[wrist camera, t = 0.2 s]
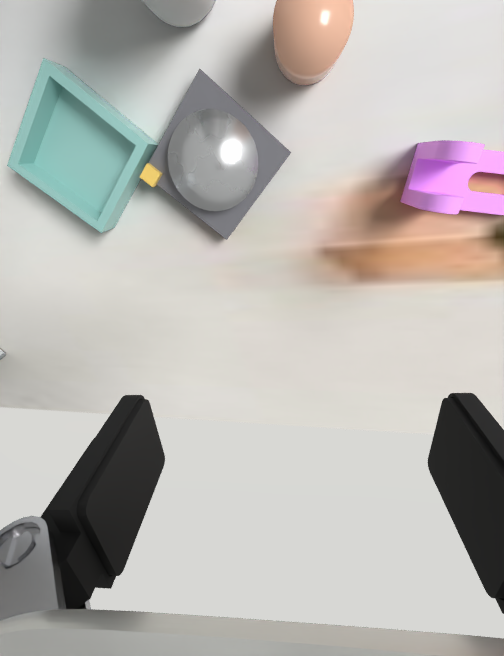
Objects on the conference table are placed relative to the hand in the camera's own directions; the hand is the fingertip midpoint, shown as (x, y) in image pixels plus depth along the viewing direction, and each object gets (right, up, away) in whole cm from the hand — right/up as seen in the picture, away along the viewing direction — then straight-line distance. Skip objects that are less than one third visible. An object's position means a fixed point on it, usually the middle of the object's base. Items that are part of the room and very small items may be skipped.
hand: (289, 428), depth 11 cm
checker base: (-5, +21, +24) cm, 33 cm away
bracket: (+22, +19, +23) cm, 37 cm away
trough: (-19, +22, +25) cm, 38 cm away
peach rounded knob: (+4, +29, +19) cm, 35 cm away
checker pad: (-5, +20, +23) cm, 31 cm away
